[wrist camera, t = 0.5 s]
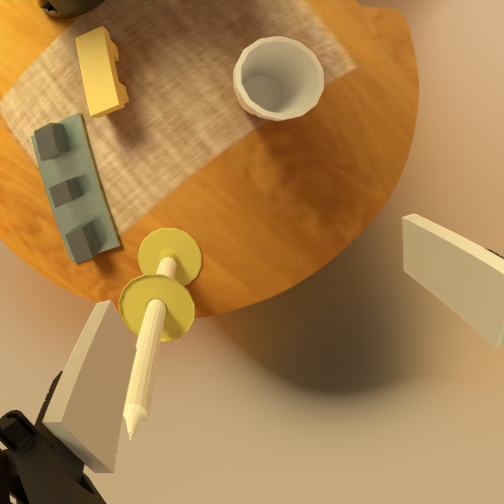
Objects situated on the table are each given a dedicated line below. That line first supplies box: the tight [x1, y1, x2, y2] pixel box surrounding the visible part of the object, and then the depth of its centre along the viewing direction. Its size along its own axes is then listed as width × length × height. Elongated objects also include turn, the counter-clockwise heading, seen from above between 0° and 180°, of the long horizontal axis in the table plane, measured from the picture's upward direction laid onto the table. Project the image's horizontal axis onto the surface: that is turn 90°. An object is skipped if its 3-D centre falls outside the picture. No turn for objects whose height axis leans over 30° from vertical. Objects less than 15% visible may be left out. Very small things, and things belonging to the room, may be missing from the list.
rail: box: [31, 113, 121, 264], centre depth 38 cm, size 21×9×5 cm, turn 14°
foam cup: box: [233, 36, 324, 121], centre depth 34 cm, size 10×9×13 cm
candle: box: [119, 228, 202, 441], centre depth 31 cm, size 10×10×32 cm
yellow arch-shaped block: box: [75, 26, 129, 118], centre depth 32 cm, size 12×4×6 cm, turn 14°
